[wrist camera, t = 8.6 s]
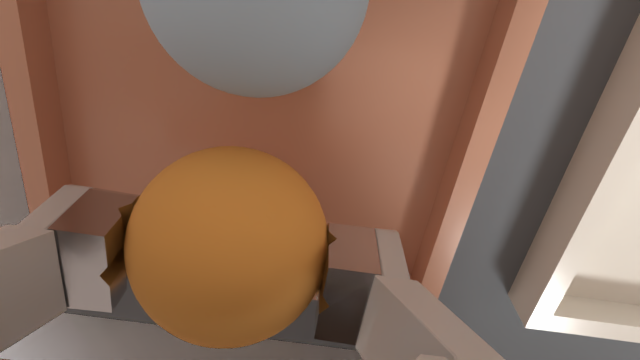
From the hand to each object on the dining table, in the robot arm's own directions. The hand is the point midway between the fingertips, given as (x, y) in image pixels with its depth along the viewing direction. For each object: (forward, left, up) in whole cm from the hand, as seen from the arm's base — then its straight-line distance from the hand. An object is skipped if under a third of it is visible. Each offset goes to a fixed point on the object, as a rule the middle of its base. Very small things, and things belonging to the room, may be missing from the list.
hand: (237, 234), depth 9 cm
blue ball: (+5, 0, -1) cm, 5 cm away
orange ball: (0, 0, 0) cm, 1 cm away
